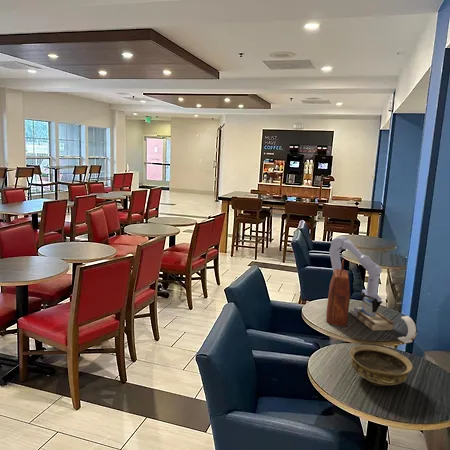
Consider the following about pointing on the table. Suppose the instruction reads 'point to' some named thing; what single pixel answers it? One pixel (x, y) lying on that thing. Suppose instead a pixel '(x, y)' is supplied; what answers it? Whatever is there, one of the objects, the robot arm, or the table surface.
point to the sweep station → (374, 321)
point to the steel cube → (358, 309)
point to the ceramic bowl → (380, 364)
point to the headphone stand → (410, 330)
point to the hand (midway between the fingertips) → (369, 309)
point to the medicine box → (368, 306)
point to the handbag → (338, 298)
